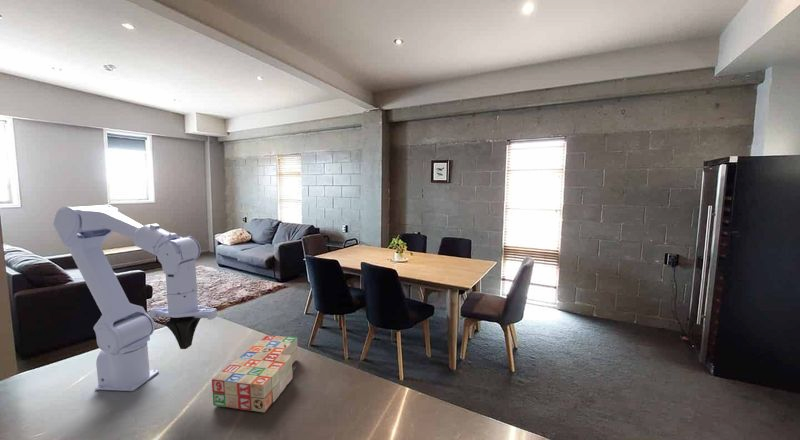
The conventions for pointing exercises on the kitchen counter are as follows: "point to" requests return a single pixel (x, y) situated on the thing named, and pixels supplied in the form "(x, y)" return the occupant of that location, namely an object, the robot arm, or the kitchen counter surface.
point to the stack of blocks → (256, 375)
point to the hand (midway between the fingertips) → (186, 347)
